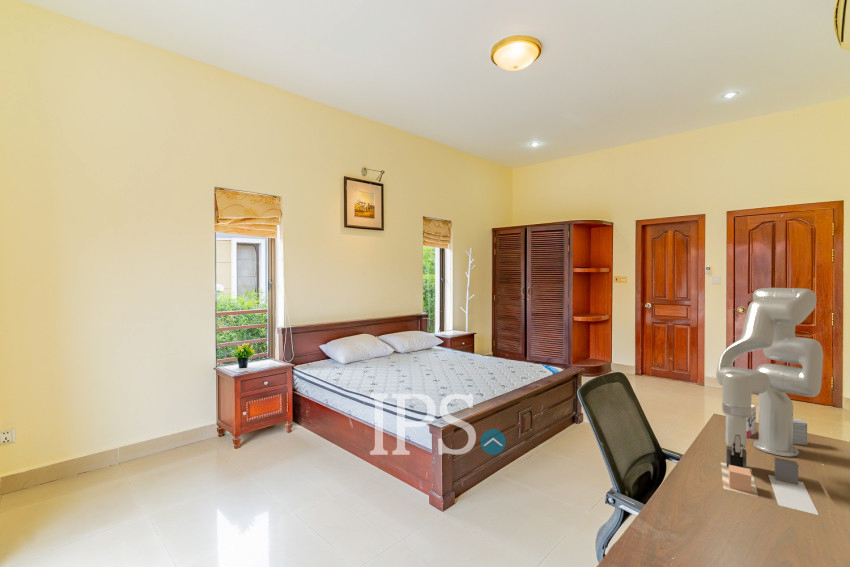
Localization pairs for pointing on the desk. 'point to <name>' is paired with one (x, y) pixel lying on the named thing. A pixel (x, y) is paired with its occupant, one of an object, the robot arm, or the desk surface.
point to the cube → (740, 478)
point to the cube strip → (726, 473)
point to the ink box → (751, 422)
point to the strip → (790, 487)
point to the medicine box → (799, 432)
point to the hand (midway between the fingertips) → (736, 464)
